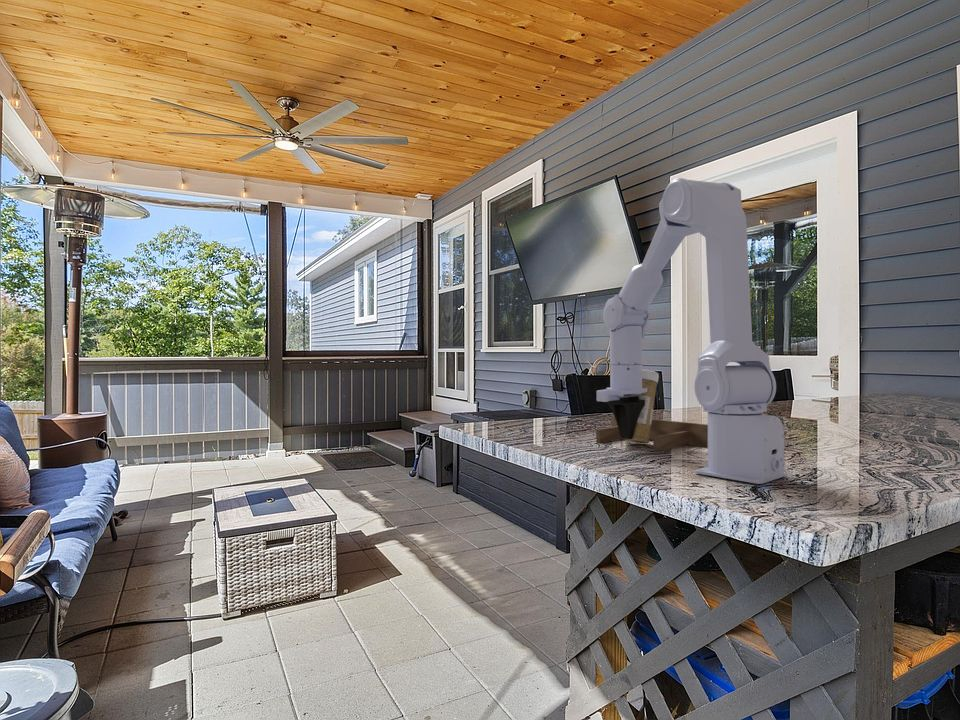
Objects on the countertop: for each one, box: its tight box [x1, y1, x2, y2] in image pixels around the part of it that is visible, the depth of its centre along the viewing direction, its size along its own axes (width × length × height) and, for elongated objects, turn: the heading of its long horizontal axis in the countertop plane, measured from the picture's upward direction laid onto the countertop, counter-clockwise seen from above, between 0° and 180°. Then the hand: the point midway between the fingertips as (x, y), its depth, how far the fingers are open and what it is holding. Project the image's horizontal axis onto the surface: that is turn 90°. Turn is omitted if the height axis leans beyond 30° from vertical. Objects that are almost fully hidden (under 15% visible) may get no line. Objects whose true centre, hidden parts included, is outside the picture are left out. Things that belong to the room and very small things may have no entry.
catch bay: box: [595, 414, 708, 452], centre depth 111 cm, size 22×11×4 cm, turn 39°
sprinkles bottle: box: [625, 369, 660, 444], centre depth 110 cm, size 5×5×13 cm
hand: (626, 438), depth 108 cm, fingers closed
